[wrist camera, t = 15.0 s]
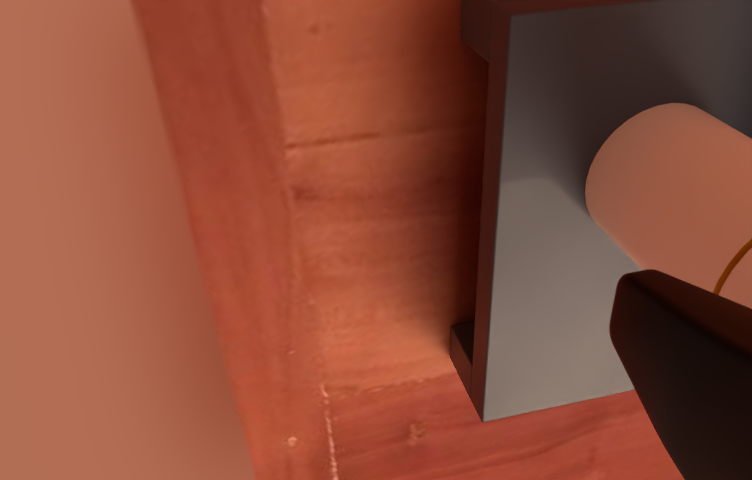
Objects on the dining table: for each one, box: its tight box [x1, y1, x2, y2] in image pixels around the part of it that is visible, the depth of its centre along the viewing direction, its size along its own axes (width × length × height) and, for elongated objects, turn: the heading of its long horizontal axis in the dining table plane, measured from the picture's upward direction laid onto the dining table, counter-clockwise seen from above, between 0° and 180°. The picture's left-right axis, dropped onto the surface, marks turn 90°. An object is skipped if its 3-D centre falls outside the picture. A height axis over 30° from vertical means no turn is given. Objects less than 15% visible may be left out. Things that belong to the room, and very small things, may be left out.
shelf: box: [450, 0, 752, 422], centre depth 21 cm, size 10×14×6 cm
